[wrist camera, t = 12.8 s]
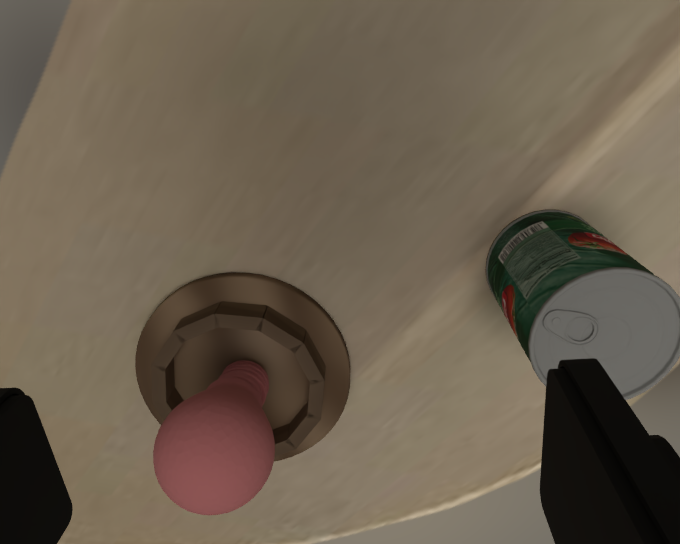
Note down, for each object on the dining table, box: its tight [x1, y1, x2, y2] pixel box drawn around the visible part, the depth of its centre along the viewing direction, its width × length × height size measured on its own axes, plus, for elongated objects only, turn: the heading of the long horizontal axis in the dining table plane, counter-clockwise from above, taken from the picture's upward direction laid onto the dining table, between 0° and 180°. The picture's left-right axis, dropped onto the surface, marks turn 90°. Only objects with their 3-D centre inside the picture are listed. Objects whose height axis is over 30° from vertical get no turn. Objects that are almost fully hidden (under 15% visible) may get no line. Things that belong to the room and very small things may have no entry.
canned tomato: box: [486, 210, 680, 400], centre depth 34 cm, size 8×8×11 cm
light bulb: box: [153, 360, 275, 515], centre depth 36 cm, size 7×7×12 cm
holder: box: [136, 273, 350, 461], centre depth 41 cm, size 16×16×3 cm
